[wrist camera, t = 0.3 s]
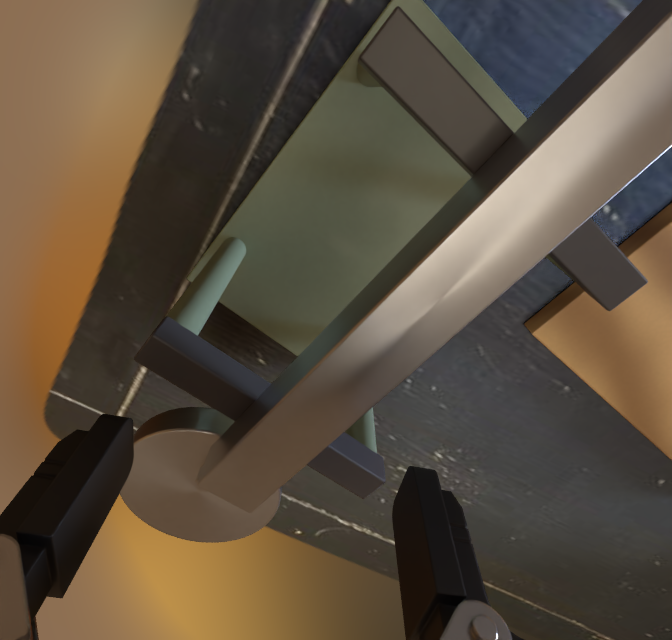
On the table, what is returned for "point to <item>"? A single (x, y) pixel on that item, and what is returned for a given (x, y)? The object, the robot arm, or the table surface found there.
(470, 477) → the table surface
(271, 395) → the ladle
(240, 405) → the rack
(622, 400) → the board
